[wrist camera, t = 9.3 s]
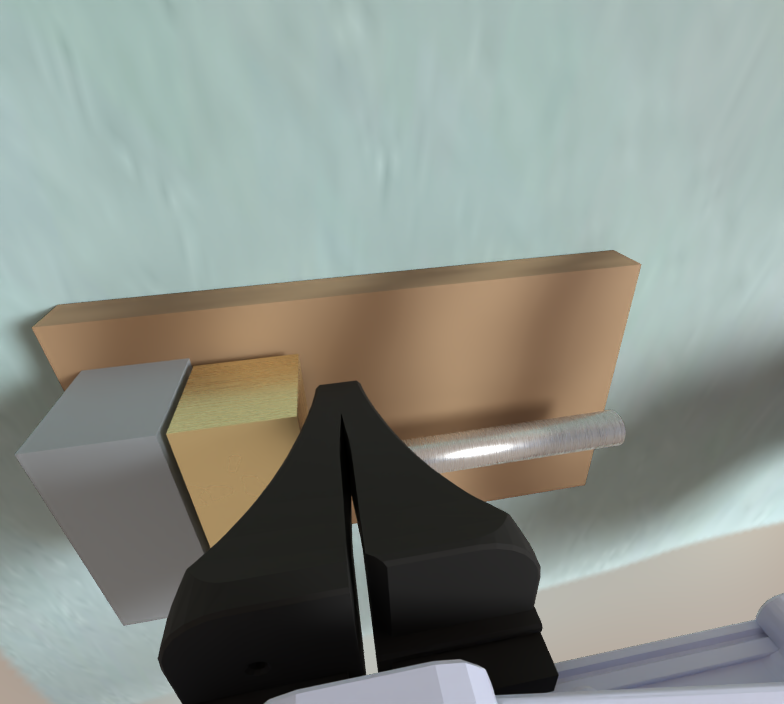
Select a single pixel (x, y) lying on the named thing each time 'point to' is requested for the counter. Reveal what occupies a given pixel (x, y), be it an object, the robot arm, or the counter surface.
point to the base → (326, 366)
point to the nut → (236, 434)
